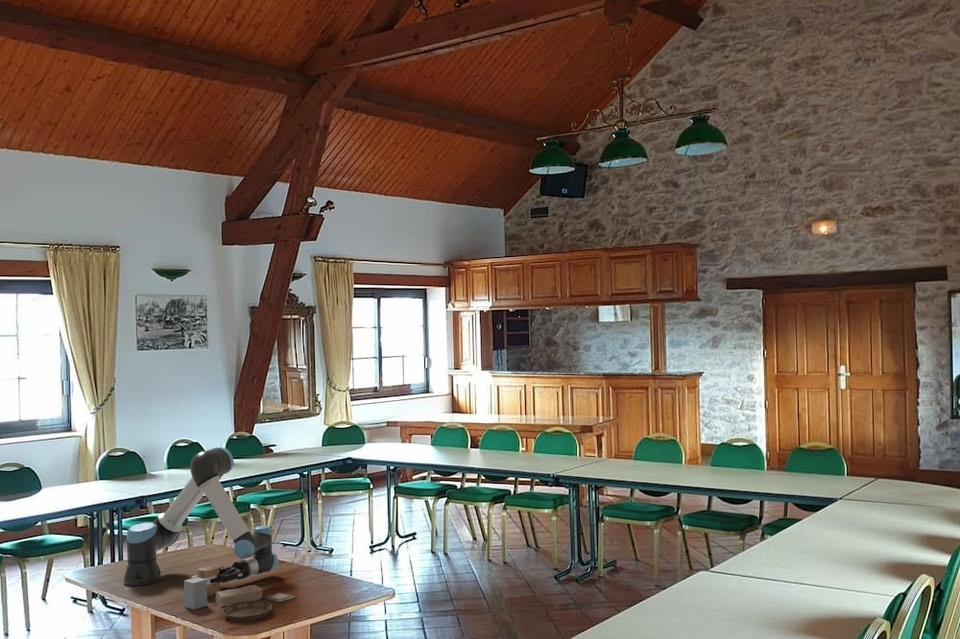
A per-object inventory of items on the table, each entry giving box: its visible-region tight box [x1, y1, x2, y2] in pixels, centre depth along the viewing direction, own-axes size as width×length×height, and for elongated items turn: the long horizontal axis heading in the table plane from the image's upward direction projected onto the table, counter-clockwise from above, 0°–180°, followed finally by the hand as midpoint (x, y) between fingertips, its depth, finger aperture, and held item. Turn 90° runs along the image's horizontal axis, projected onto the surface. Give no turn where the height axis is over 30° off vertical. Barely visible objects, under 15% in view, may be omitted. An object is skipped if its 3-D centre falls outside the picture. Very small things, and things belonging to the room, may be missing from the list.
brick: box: [215, 584, 263, 608], centre depth 356 cm, size 16×8×5 cm, turn 121°
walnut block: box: [196, 565, 220, 597], centre depth 367 cm, size 6×6×10 cm
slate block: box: [183, 577, 208, 610], centre depth 351 cm, size 6×6×10 cm
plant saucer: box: [222, 600, 273, 622], centre depth 338 cm, size 18×18×3 cm
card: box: [262, 592, 297, 603], centre depth 359 cm, size 10×8×1 cm
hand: (197, 581), depth 363 cm, fingers closed on walnut block, 6 cm apart
